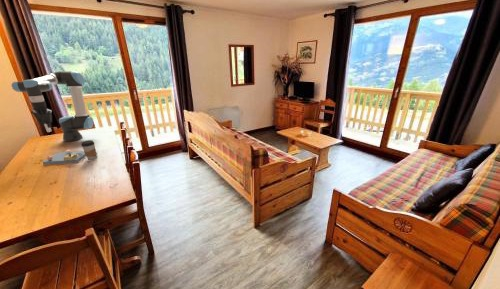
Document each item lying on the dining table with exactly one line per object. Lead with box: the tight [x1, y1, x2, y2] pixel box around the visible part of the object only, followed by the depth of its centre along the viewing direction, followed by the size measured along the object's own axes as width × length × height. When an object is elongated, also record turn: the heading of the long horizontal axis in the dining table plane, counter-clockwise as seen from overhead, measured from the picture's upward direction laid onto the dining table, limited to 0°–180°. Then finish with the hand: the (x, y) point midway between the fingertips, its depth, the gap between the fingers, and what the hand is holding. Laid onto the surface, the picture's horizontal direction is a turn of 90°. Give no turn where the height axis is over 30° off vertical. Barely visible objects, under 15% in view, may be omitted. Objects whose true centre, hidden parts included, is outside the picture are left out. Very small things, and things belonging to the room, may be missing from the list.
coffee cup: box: [80, 139, 98, 162], centre depth 166 cm, size 8×8×15 cm
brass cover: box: [63, 154, 78, 161], centre depth 162 cm, size 6×6×4 cm
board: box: [42, 150, 87, 166], centre depth 169 cm, size 17×24×2 cm
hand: (49, 131), depth 164 cm, fingers closed
